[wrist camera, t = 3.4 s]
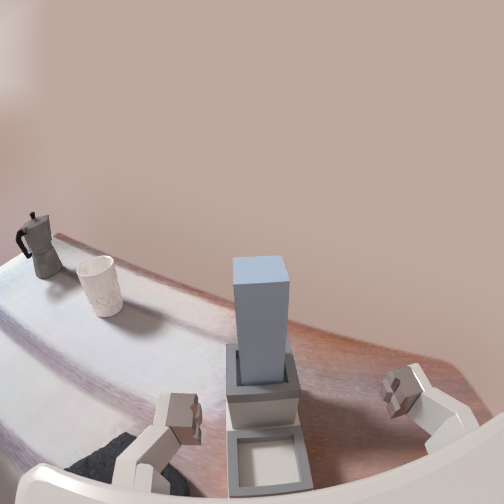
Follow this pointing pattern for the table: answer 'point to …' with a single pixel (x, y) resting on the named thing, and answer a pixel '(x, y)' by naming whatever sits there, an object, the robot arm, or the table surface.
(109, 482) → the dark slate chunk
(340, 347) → the table surface
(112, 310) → the white cup
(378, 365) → the table surface
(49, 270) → the coffeepot
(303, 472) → the stepped base with tray
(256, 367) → the plug
